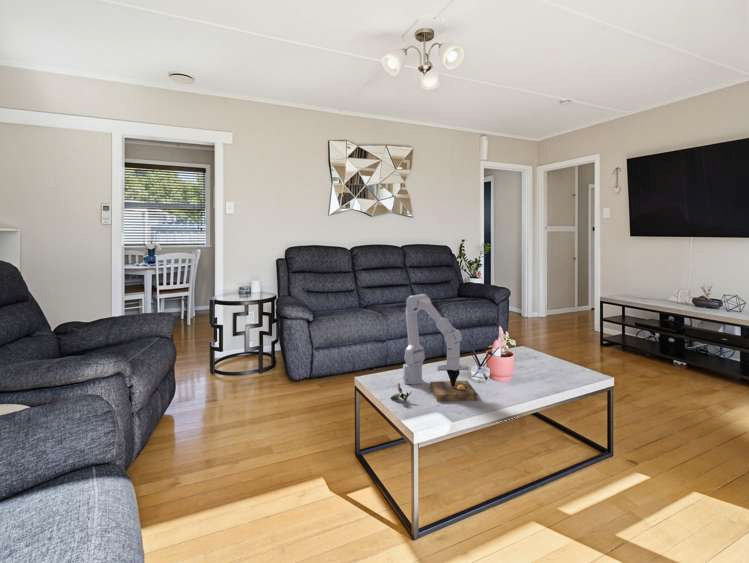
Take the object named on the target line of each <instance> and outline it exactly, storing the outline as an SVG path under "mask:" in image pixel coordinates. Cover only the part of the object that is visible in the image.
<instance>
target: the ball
mask: <svg viewBox="0 0 749 563" xmlns="http://www.w3.org/2000/svg"><path fill="white" fill-rule="evenodd" d="M457 389H461V390H463V389H465V387H464V386H463V385H458V386H457Z"/></svg>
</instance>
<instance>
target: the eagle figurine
mask: <svg viewBox="0 0 749 563" xmlns="http://www.w3.org/2000/svg"><path fill="white" fill-rule="evenodd" d="M397 384H398V385H397V390H398V392H399V393H395V394H393V395H392V396H390V399H399V398H401V399H402V400H404V403H405V402H407V399H408V398H409V396H411V394H412V392H413V391H412V390H411V391H410V392H409V391H406V394H404V393H403V389H402V387H401V384H400V383H399V382H398V383H397Z"/></svg>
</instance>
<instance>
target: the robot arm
mask: <svg viewBox="0 0 749 563" xmlns="http://www.w3.org/2000/svg"><path fill="white" fill-rule="evenodd" d="M405 303H406V306H405V321H406V329H407V331H406V332H407V333H406V334H407V343H408V345H407V346H406V348H405V349H404V352H405V353H404V361H405V362H404V364H403V365H402V372H403V373H402V380H403V383H404V384H405V385H417V384H418V385H420V384H421V385H423V384H425V382H424V380H423V364H424V361H425V359H426V354H425V351H424V347H423V346H422V345H421V344H420V335H419V322H418V321H419V320H418V313H419V312H420V311H425V312H426V313H427V314H428V315H429V317H431V318H432V319H433V321H434V322H435V327H436V328H437V329H438V330H439V331H440V333H441V334H442V335H443V338H444V342H445V344H446V364H442V365H437V366H436V371H437V372H440V371H441V372H442V371H446V372H447V375H448V378H449V381H450V383H451V386H455V383H456V381H458V380H457V379H458V377H459V375H460V371H470V366H469V364H460V358H461V356H460V355H461V354H460V353H461V352H460V351H461V350H460V349H461V342H462V340H463V334H462V332H461V330H460V329H457V328H455V327H453V324H451V323H450V320H449V319H448V318H447V317H442V316H441V314H440V313H439V312H438V310H437V309H436V307H435V306H434V305H433V303H432V302H431V298H429V296H428V294H426V293H420V294H415V295H413V294H412V295H409V296H408V297H407V299H406V302H405Z"/></svg>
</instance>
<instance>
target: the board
mask: <svg viewBox="0 0 749 563" xmlns="http://www.w3.org/2000/svg"><path fill="white" fill-rule="evenodd" d="M458 385H463V386H464V387H465V389H463V390H461V389H457V386H458ZM429 389H430V390H432V391H431V393H432V392H433V393H432V395H433V394H434V395H433V396H434V398H435V400H436V402H455V401H456V402H460V401H461V402H462V401H478V393H477V391H476V390H475V389H474V387H473V386H472V384H470V382H469V381H468V380H456V383H455V386H451V383H450V380H444V381H443V380H442V381H440V380H439V381H430V382H429Z"/></svg>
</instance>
